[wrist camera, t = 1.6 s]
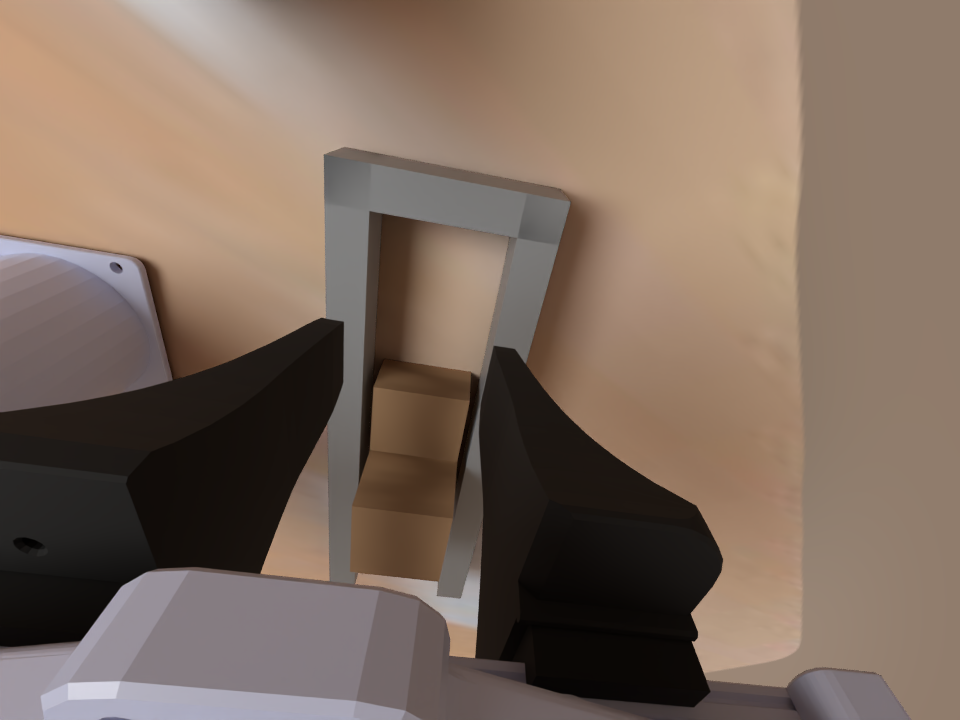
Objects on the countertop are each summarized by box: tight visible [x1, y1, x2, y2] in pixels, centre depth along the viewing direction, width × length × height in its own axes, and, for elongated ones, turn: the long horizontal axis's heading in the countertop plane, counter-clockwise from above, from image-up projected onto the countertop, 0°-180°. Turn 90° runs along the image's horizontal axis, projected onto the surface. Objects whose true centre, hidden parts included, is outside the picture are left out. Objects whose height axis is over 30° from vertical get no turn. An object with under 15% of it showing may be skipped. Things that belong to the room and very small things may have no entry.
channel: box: [324, 147, 571, 598], centre depth 23 cm, size 9×26×2 cm, turn 170°
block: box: [350, 359, 471, 582], centre depth 22 cm, size 4×9×6 cm, turn 170°
